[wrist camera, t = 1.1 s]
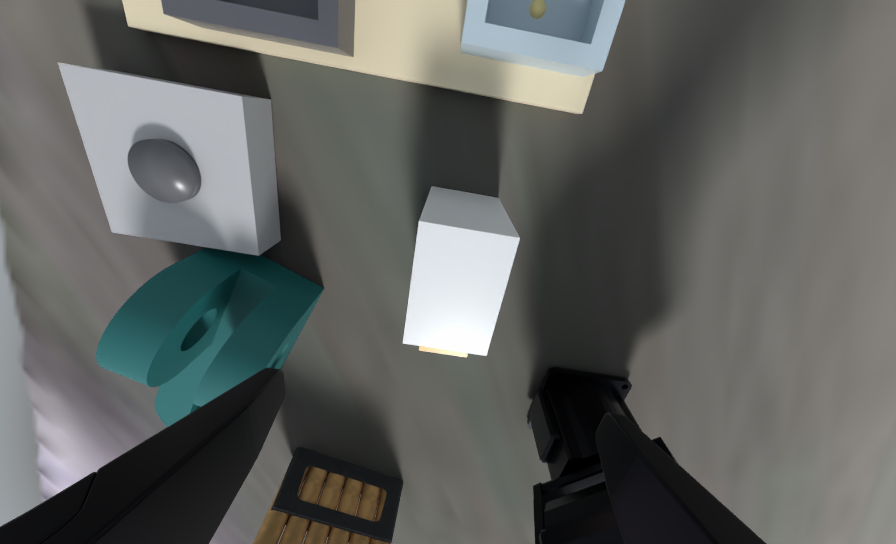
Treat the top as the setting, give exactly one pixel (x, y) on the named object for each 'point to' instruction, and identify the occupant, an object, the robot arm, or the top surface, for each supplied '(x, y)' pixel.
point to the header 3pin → (543, 33)
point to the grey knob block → (178, 159)
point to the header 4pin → (275, 20)
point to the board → (400, 51)
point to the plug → (459, 272)
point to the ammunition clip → (331, 504)
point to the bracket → (207, 327)
